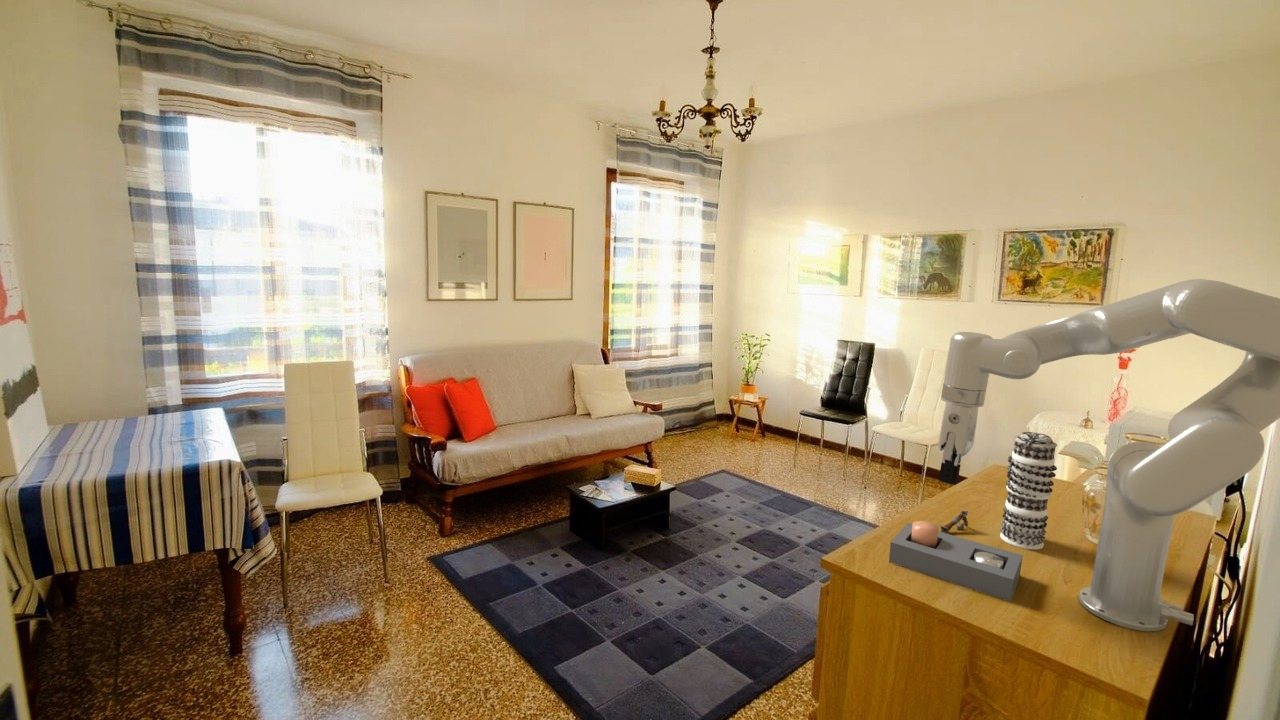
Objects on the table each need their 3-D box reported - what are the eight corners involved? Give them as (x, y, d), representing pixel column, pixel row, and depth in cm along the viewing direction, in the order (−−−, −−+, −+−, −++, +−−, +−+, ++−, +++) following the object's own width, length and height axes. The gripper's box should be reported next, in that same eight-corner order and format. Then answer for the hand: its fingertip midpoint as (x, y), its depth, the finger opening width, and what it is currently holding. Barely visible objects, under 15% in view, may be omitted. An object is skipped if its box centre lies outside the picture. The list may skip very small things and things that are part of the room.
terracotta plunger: (939, 543, 125) (941, 525, 124) (933, 551, 121) (935, 533, 121) (914, 535, 128) (916, 518, 128) (907, 544, 125) (909, 526, 124)
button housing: (1019, 575, 119) (1022, 555, 119) (1010, 601, 110) (1013, 579, 109) (905, 541, 133) (907, 522, 132) (888, 561, 124) (890, 542, 123)
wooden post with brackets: (973, 524, 140) (970, 509, 139) (950, 543, 138) (946, 528, 136) (966, 521, 142) (963, 506, 140) (943, 539, 139) (940, 524, 138)
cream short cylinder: (1003, 575, 118) (1005, 557, 118) (998, 586, 114) (1001, 567, 114) (974, 567, 121) (977, 549, 121) (969, 577, 118) (972, 558, 117)
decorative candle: (1006, 547, 131) (1020, 439, 127) (992, 529, 140) (1005, 427, 135) (1052, 553, 129) (1069, 443, 124) (1035, 533, 138) (1050, 430, 133)
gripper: (976, 406, 108) (960, 498, 112) (991, 392, 120) (975, 477, 123) (933, 397, 113) (918, 486, 117) (950, 385, 124) (937, 467, 128)
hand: (947, 481), depth 120 cm, fingers closed
